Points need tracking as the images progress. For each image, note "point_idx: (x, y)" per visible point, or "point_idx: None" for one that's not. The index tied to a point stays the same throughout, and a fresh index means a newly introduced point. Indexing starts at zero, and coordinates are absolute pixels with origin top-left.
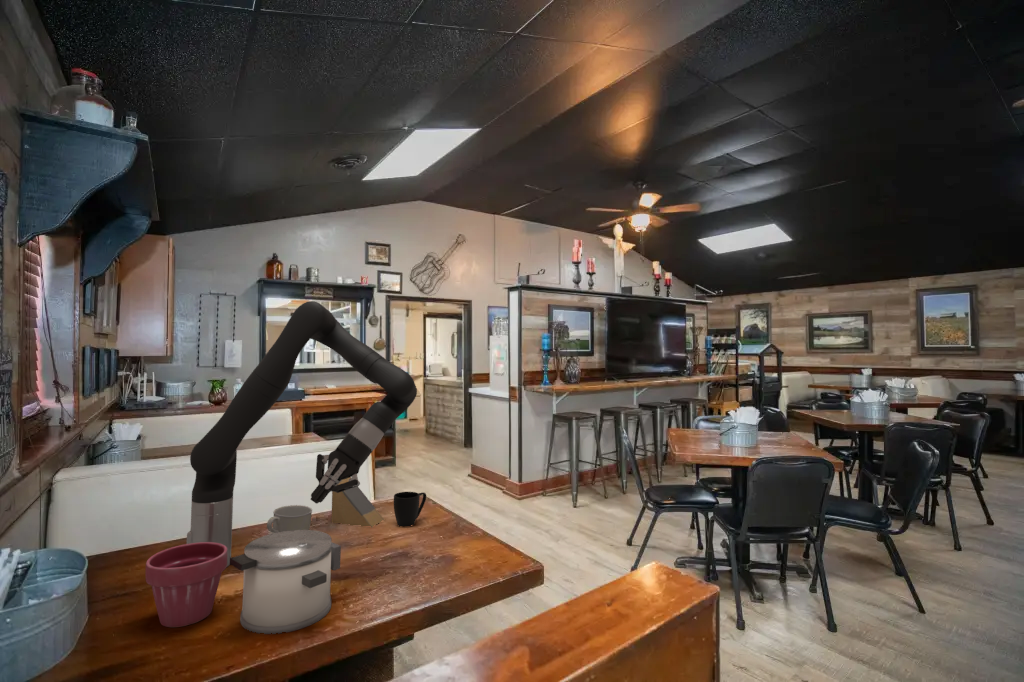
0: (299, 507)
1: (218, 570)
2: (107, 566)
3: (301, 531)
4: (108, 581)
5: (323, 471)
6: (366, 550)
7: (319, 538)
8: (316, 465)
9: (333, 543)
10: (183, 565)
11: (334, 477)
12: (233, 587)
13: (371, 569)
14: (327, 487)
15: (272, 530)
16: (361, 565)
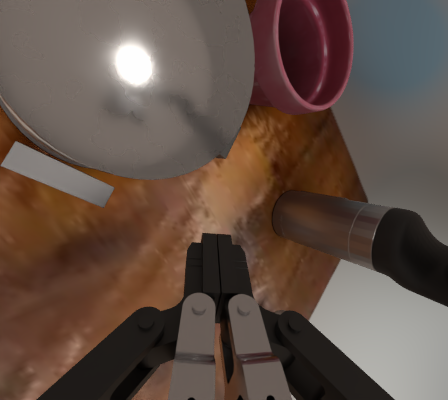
0: None
1: (254, 28)
2: (355, 184)
3: (174, 160)
4: (342, 154)
5: (302, 395)
6: None
7: (65, 93)
8: (371, 379)
9: (51, 182)
10: (308, 92)
11: (195, 382)
12: (235, 164)
13: (19, 314)
14: (195, 301)
15: (275, 312)
16: (62, 318)
